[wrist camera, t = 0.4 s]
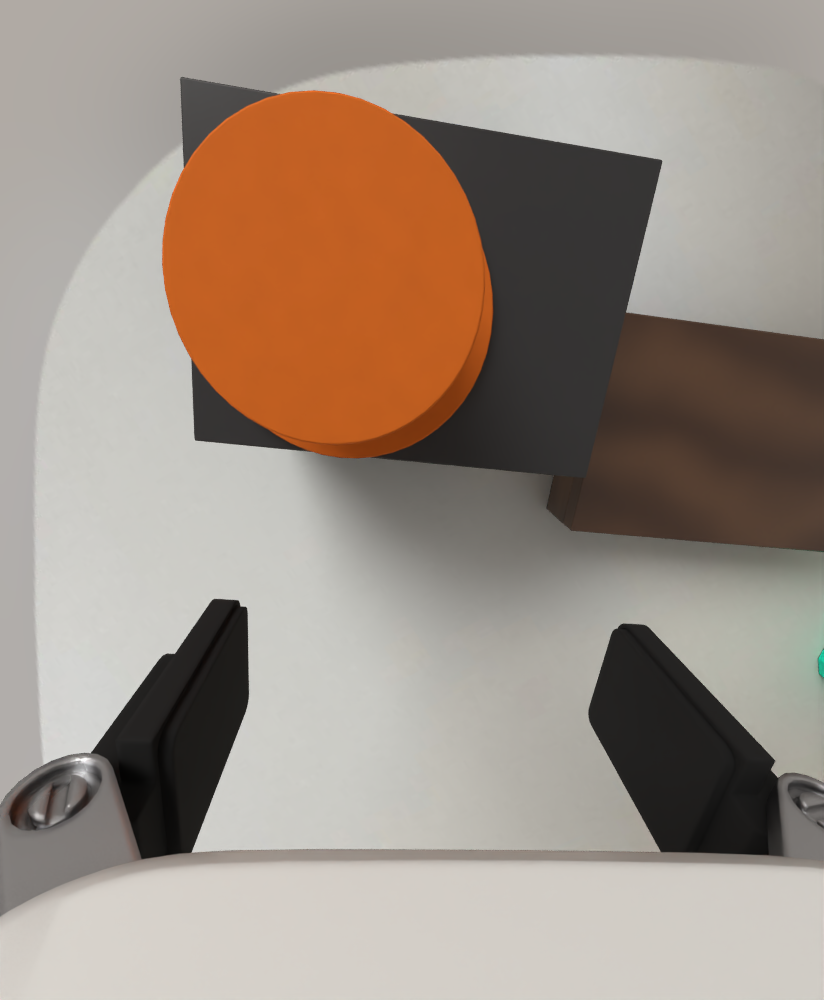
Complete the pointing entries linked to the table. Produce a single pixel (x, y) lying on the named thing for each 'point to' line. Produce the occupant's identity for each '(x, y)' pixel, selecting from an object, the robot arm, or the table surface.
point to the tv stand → (706, 439)
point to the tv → (505, 291)
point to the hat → (328, 274)
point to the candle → (821, 664)
